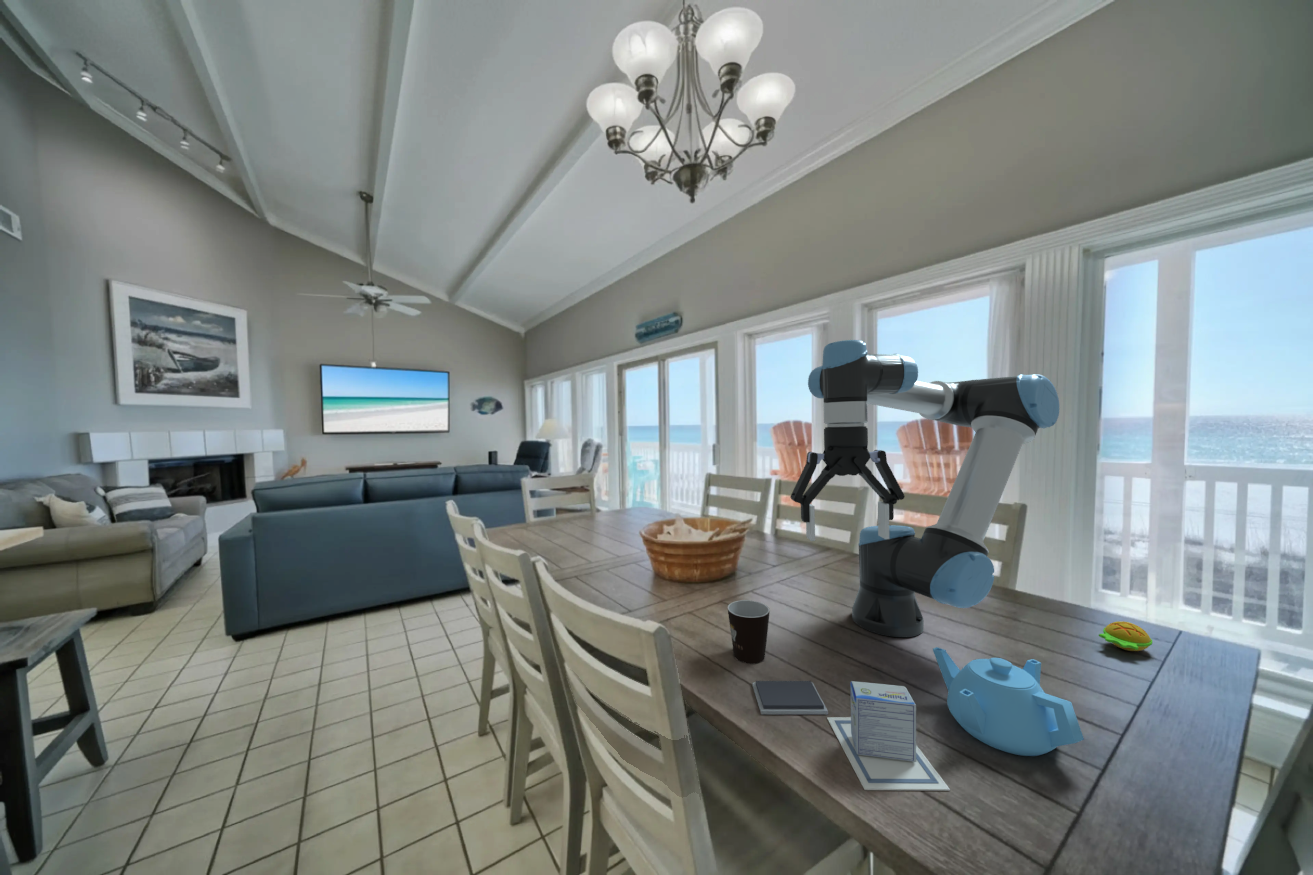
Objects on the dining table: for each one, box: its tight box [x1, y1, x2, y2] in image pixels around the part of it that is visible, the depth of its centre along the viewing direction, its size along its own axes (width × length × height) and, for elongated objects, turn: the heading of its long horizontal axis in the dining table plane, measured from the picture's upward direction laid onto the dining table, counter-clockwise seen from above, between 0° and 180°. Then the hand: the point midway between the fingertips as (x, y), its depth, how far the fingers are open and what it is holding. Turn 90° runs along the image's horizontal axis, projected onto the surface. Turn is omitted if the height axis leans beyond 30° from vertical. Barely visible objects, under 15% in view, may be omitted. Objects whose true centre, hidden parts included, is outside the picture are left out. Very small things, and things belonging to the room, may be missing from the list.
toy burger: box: [1098, 620, 1153, 652], centre depth 90 cm, size 7×10×5 cm
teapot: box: [932, 646, 1085, 757], centre depth 68 cm, size 15×15×11 cm
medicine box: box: [849, 680, 917, 762], centre depth 64 cm, size 8×4×9 cm, turn 77°
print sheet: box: [826, 716, 951, 792], centre depth 64 cm, size 11×14×1 cm
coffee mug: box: [727, 599, 771, 665], centre depth 93 cm, size 12×9×10 cm
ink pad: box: [752, 680, 829, 715], centre depth 77 cm, size 11×8×1 cm
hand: (847, 538), depth 82 cm, fingers open, 13 cm apart
